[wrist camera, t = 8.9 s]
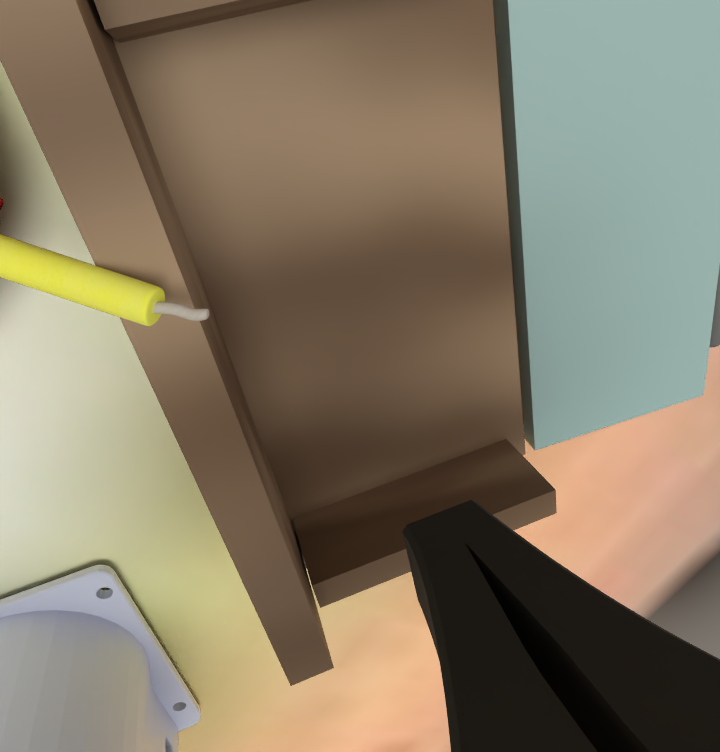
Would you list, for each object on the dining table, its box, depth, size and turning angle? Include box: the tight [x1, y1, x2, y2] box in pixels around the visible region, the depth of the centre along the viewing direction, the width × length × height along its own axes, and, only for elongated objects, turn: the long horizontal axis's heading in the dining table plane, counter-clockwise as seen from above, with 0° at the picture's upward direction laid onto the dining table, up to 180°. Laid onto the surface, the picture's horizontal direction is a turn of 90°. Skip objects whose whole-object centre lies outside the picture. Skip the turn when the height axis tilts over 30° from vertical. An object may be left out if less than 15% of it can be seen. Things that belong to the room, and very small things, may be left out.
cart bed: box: [0, 0, 556, 686], centre depth 14 cm, size 18×10×6 cm, turn 12°
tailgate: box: [493, 0, 720, 450], centre depth 17 cm, size 16×1×8 cm
